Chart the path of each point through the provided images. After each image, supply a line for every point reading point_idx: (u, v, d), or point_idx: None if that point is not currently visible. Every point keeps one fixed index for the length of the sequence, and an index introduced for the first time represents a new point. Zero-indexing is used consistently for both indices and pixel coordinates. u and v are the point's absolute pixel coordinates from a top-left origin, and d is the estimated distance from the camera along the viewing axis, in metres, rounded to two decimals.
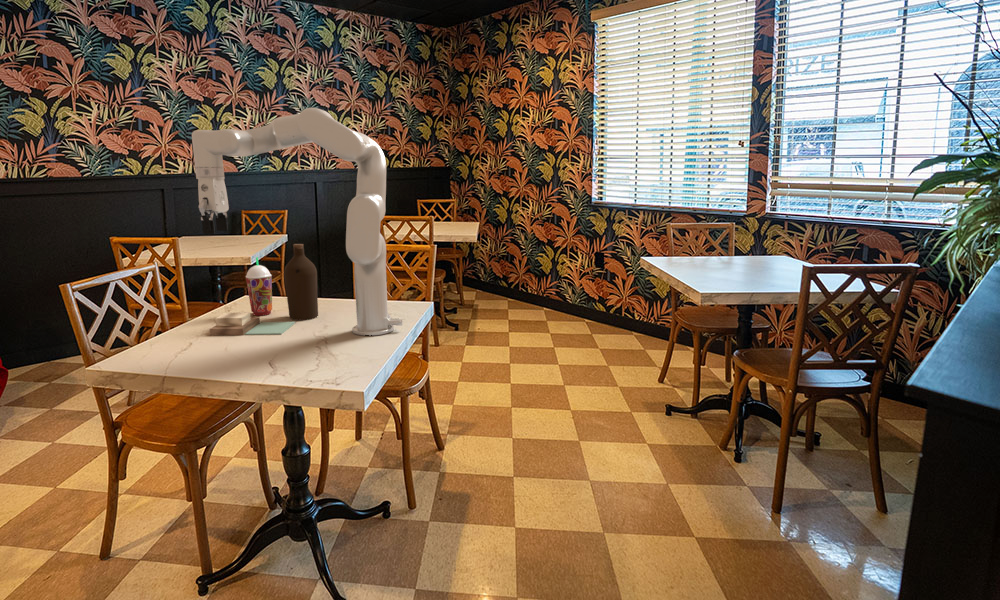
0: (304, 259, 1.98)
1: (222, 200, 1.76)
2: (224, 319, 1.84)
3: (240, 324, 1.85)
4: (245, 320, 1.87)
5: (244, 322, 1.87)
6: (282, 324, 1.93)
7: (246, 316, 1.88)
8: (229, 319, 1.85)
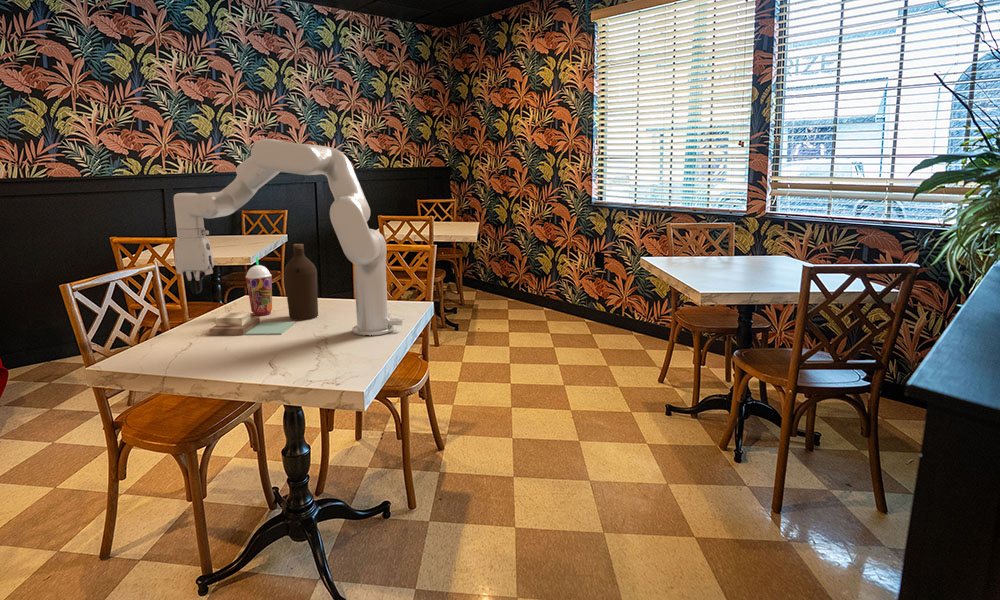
0: (304, 259, 1.98)
1: None
2: (224, 319, 1.84)
3: (240, 324, 1.85)
4: (245, 320, 1.87)
5: (244, 322, 1.87)
6: (282, 324, 1.93)
7: (246, 316, 1.88)
8: (229, 319, 1.85)
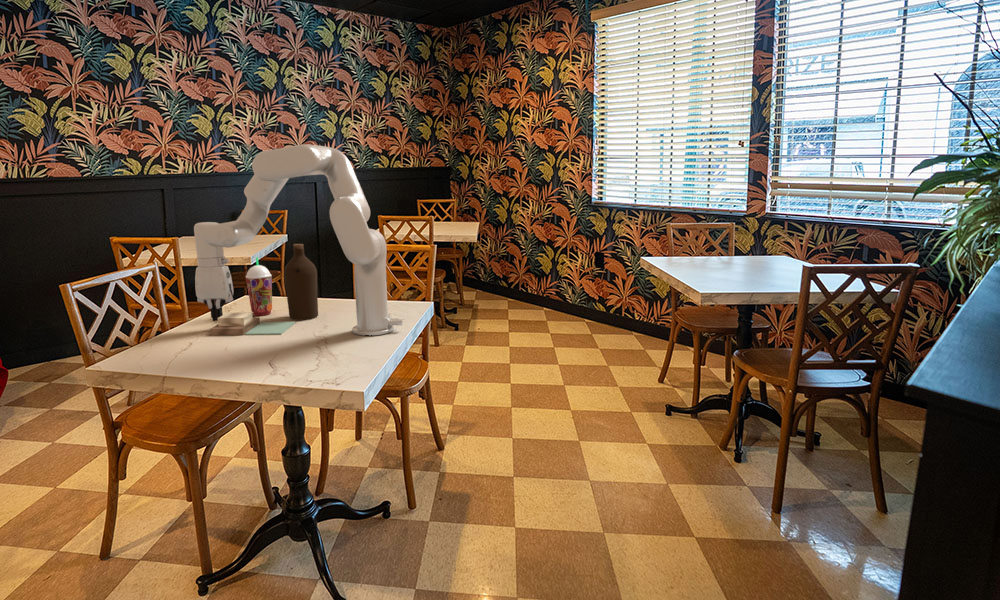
0: (304, 259, 1.98)
1: None
2: (226, 319, 1.84)
3: (242, 324, 1.85)
4: (247, 320, 1.87)
5: (246, 322, 1.87)
6: (282, 324, 1.93)
7: (248, 316, 1.88)
8: (231, 319, 1.85)
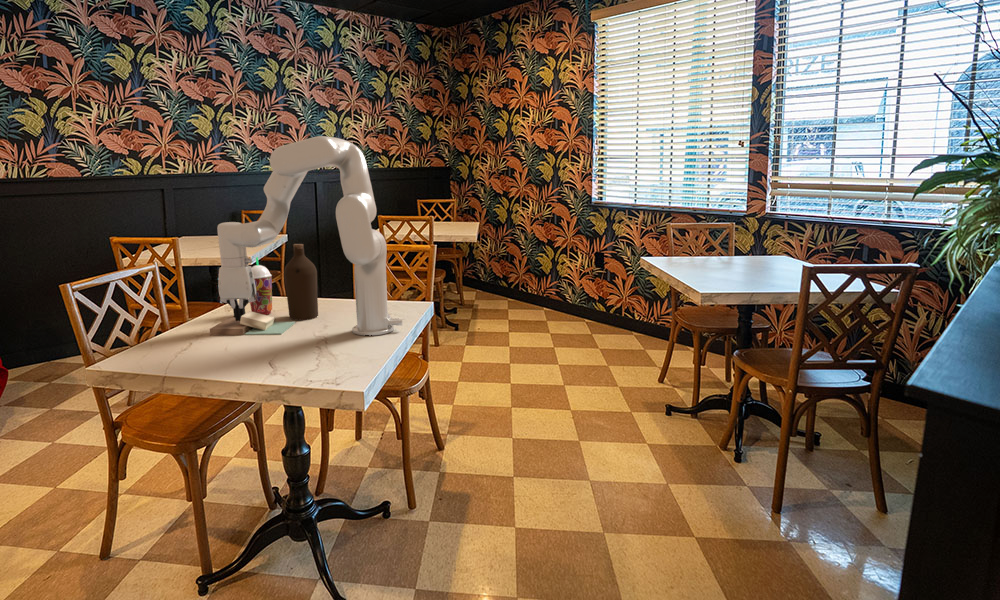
0: (304, 259, 1.98)
1: None
2: (249, 319, 1.85)
3: (263, 328, 1.85)
4: (268, 325, 1.88)
5: (267, 327, 1.87)
6: (282, 324, 1.93)
7: (270, 321, 1.89)
8: (254, 321, 1.85)
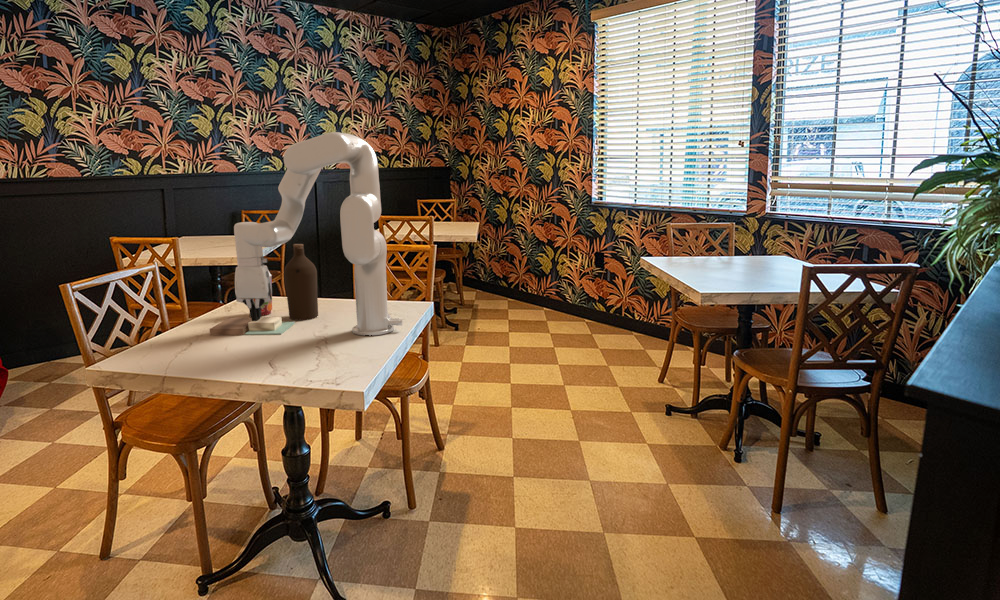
0: (304, 259, 1.98)
1: None
2: (257, 324, 1.85)
3: (273, 329, 1.86)
4: (277, 324, 1.88)
5: (276, 327, 1.87)
6: (282, 324, 1.93)
7: (278, 321, 1.89)
8: (262, 324, 1.85)
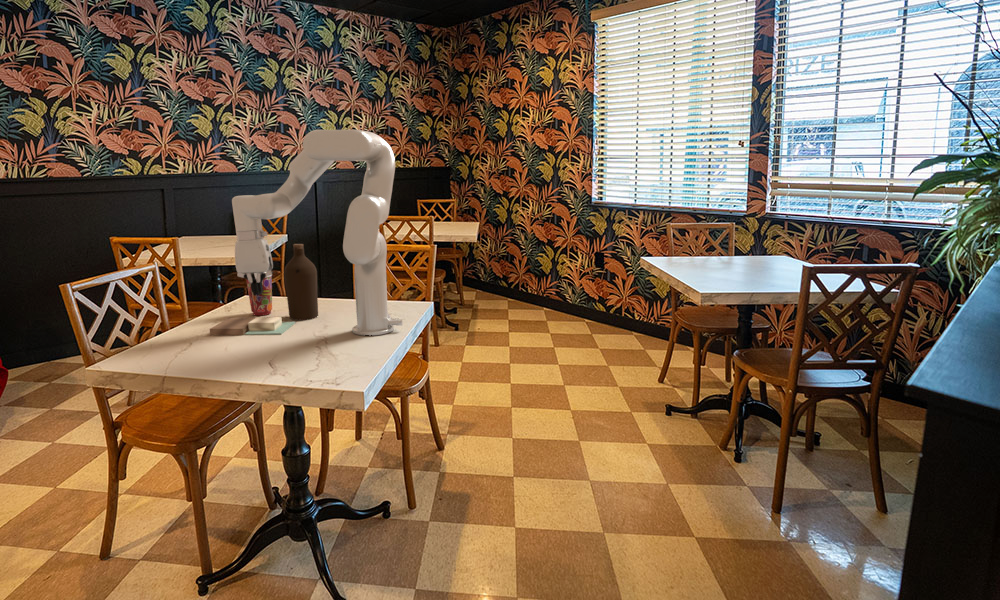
0: (304, 259, 1.98)
1: None
2: (257, 324, 1.85)
3: (273, 329, 1.86)
4: (277, 324, 1.88)
5: (276, 327, 1.87)
6: (282, 324, 1.93)
7: (278, 321, 1.89)
8: (262, 324, 1.85)
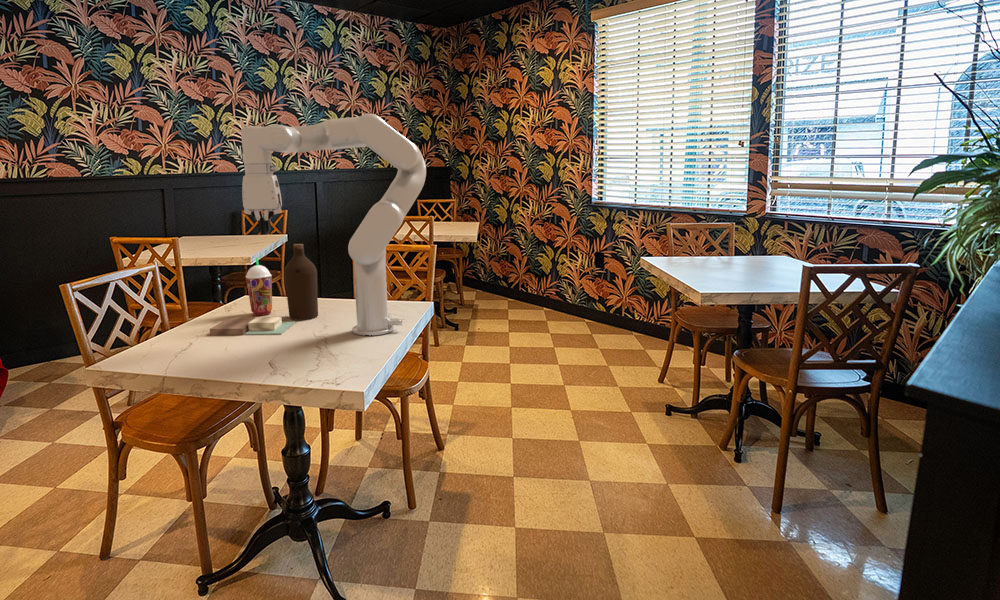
0: (304, 259, 1.98)
1: None
2: (257, 324, 1.85)
3: (273, 329, 1.86)
4: (277, 324, 1.88)
5: (276, 327, 1.87)
6: (282, 324, 1.93)
7: (278, 321, 1.89)
8: (262, 324, 1.85)
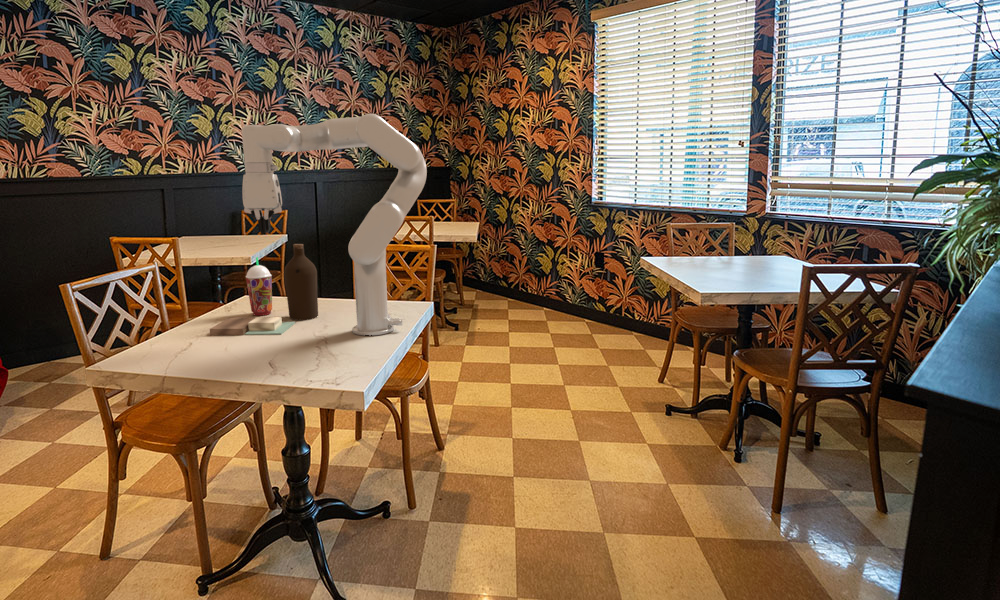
0: (304, 259, 1.98)
1: None
2: (257, 324, 1.85)
3: (273, 329, 1.86)
4: (277, 324, 1.88)
5: (276, 327, 1.87)
6: (282, 324, 1.93)
7: (278, 321, 1.89)
8: (262, 324, 1.85)
